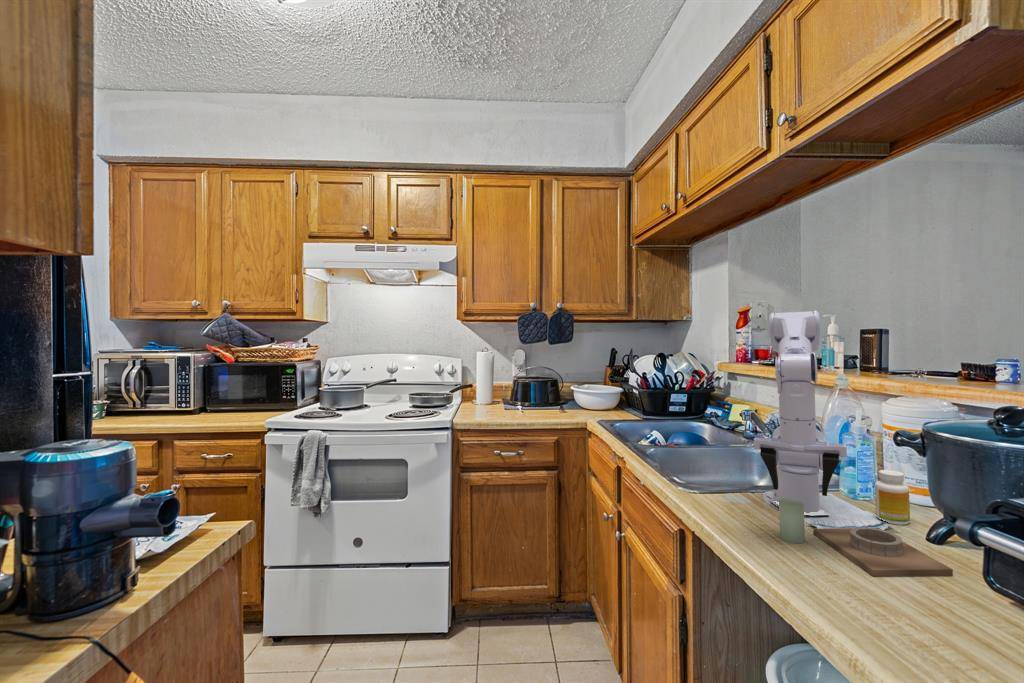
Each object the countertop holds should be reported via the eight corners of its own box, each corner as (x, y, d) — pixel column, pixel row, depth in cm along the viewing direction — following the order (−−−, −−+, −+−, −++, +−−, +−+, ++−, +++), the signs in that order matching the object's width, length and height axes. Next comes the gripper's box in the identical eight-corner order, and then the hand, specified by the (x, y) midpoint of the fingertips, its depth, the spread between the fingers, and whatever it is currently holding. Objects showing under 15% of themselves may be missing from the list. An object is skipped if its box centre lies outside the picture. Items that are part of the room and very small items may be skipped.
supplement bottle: (916, 526, 92) (915, 476, 92) (885, 524, 93) (883, 476, 93) (899, 515, 97) (898, 468, 97) (870, 514, 98) (869, 468, 98)
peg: (776, 534, 90) (774, 498, 90) (797, 534, 90) (796, 498, 90) (787, 543, 86) (785, 505, 86) (809, 543, 86) (808, 505, 86)
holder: (813, 533, 90) (813, 518, 90) (878, 532, 89) (877, 517, 89) (873, 576, 74) (872, 557, 74) (952, 575, 73) (952, 556, 73)
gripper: (751, 419, 87) (753, 491, 87) (846, 424, 79) (849, 504, 79) (755, 413, 93) (757, 481, 93) (844, 417, 85) (846, 491, 85)
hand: (799, 491), depth 87 cm, fingers open, 7 cm apart
